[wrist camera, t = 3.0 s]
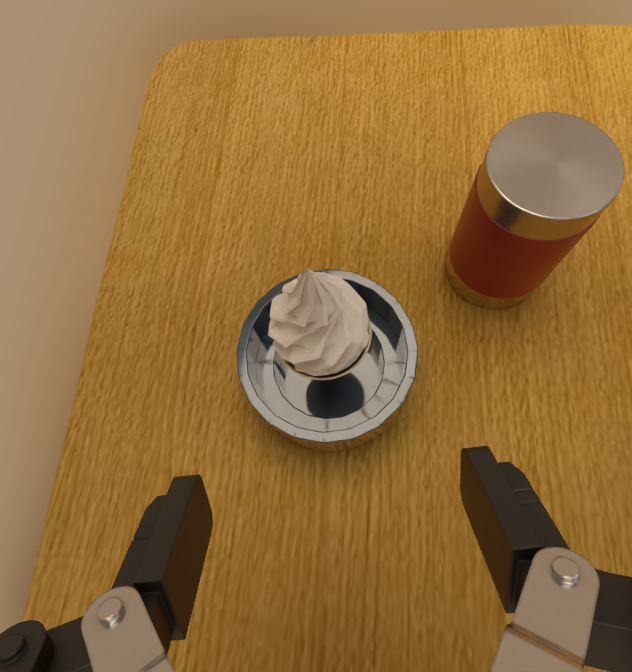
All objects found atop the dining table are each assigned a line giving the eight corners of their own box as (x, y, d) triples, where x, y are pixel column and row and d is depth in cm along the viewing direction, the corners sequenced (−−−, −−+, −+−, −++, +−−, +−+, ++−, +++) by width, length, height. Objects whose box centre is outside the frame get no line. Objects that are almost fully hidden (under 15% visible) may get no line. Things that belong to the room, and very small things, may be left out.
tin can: (505, 214, 34) (571, 92, 24) (558, 285, 32) (656, 184, 22) (427, 250, 34) (459, 142, 23) (475, 325, 31) (535, 242, 21)
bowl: (363, 282, 33) (365, 243, 28) (435, 408, 30) (452, 390, 25) (234, 342, 32) (211, 313, 27) (293, 479, 29) (279, 475, 24)
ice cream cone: (301, 332, 32) (259, 203, 18) (372, 343, 31) (387, 218, 17) (286, 402, 30) (227, 321, 16) (361, 415, 30) (367, 342, 15)
